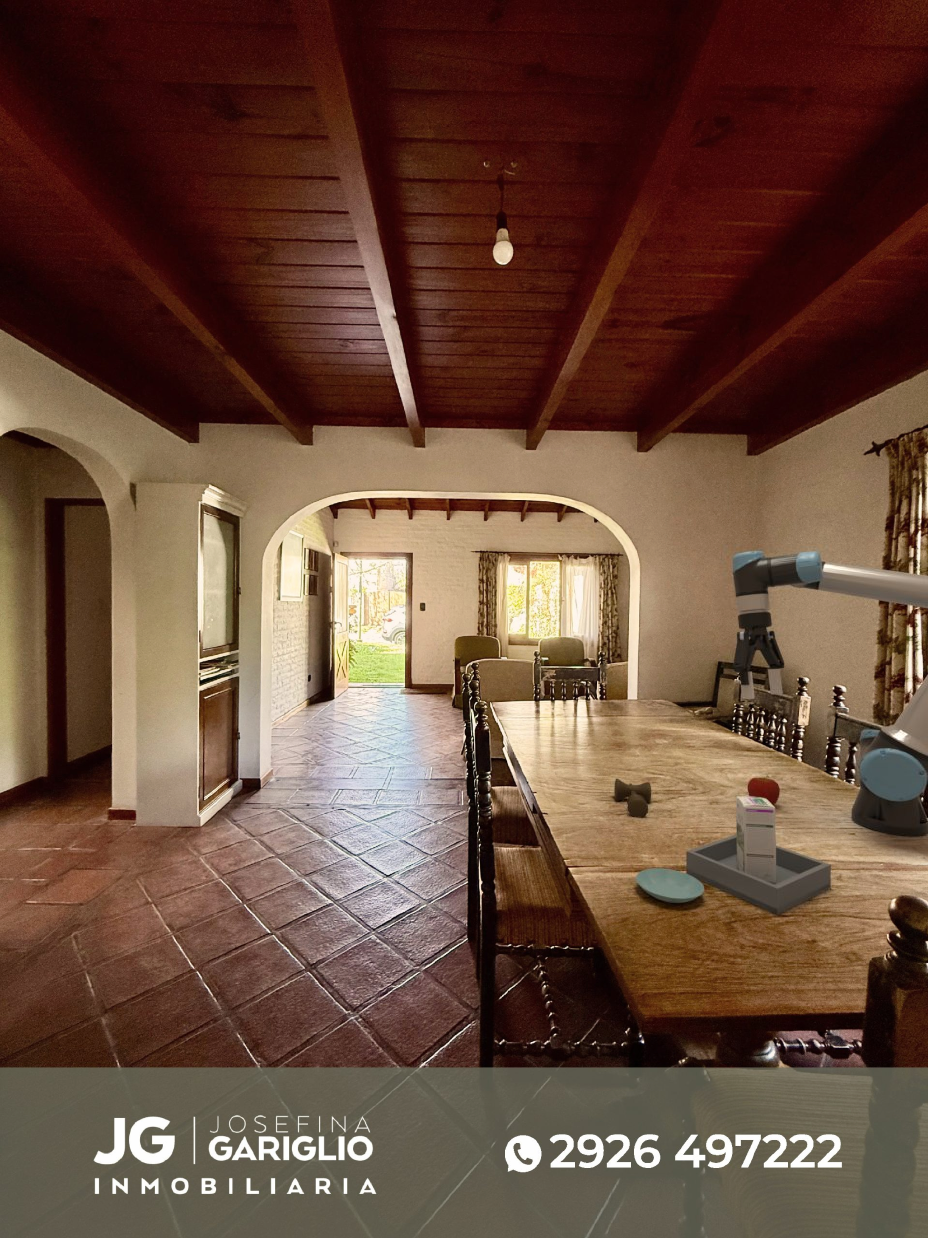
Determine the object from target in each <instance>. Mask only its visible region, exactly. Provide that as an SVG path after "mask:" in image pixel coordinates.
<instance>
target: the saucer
mask: <svg viewBox="0 0 928 1238" xmlns="http://www.w3.org/2000/svg"><path fill="white" fill-rule="evenodd" d="M635 882H636V883H637V884H638V885H639V887H640V888H641V889H643V891H644V892H646V893H647V894H648V895H650V896H651V897H653V898H655V899H657V900H658V901H662V902H665V903H669V904H670V903H671V904H684V903H687V902H692V901H694V900H695V899H697V898H698V897H700V896H702V894H704V892H705V886H704V884H703V883H702V881H701V880H699V879H697V878H694V877H692V876H690V875H688V874H686V873H685V872H681V871H678V870H674V869H669V868H656V867H655V868H647V869H645V870H641V871H639V872H638V873H637V874H636V875H635Z"/></svg>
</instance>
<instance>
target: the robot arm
mask: <svg viewBox="0 0 928 1238" xmlns="http://www.w3.org/2000/svg"><path fill="white" fill-rule="evenodd" d="M732 575H733V576H732V577H733V584H734V585H733V586H734V592H735V600H736V601H735V606H736V612H737V613H738V615H737V620H738V621H737V622H738V628H739V629H740V630H744V631H739V632H736V646H735V653H734V657H733V658H734V659H733V665H732V668H733V670H734V673H739V679H740V680H739V681H740V690H741V691H740V692H741V698H742V700H744V699H745V700H746V699H747V700H749V699H750V700H751V699H752V700H754V699H755V689H754V687H755V686H754V679H753V672H752V671H750V669H751V666H752V663H753V661H754V658H755V655H756V651H759V652H760V654H761V655H762V657H763V659H764V660H765V662H766V664H767V666H768V667H769V668H768V669H767V673H768V681H769V682H768V683H769V692H770V693H769V694H770V695H783V693H784V692H783V685H782V676H781V675H782V674H781V669H784V668H785V661H784V659H783V655H782V652H781V650H780V647H779V645H778V641H777V638H776V633H775V631H774V630H768V629H767V628H769V627H772V625H773V622H772V614H771V613H770V610H771V604H770V595H769V594H770V593H769V588H775V587H782V586H783V587H785V586H791V587H793V588H797V589H809V590H814V591H816V590H817V591H823V592H828V593H832V594H833V593H834V594H841V595H845V596H851V597H857V598H865V599H869V600H876V601H882V602H889V603H895V604H900V605H907V606H913V607H917V608H925V609H928V575H925V574H918V573H910V572H903V571H896V570H887V569H880V568H873V567H866V566H861V565H860V566H859V565H852V564H844V563H836V562H832V561H831V562H829V561H822V557H821V553H820V552H819V551H818V550H817V551H815V550H812V551H802V552H801V551H800V552H797V553H791V554H784V555H778V556H773V557H769V556H768V557H766V555H765V553H764V551H761V550H752V551H751V550H750V551H744V552H741V553H736V554H735V555H734V556H732ZM859 742H860V744H859V745H860V746H859V749H860V752H859V753H860V755H859V765H858V775H859V782H860V783H859V790H858V793H857V796H856V798H855V800H854V803H853V805H852V807H851V820H852V821H853V822H855V823H856V824H858V825H860V826H862V827H865V828H867V829H870V830H874V831H876V832H877V831H878V832H881V833H886V834H892V835H899V836H907V837H911V836H912V837H919V835H921V836H925V835H928V817H927V815H926V812H925V809H924V807H923V804H922V802H921V801H922V800H921V799H920V795H921V794H922V793H923V791H924V790H925V789H926V787H927V784H928V674H927V675H926V677H924V680H923V681H922V683H921V684H920V686H919V687H918V689H917V690H916V691H915V693H914V694H913V696H912V698H911V699H910V700H909V702H908V703H907V705H906V706H905V707H904V709H903V710H902V712H901V714H900V715H899V716H898V718H897V719H896V721H895V723H894V724H892V725H888V726H881V728H880V729H869V728H868V729H866V728H865V729H863V730H861V731H860V738H859Z"/></svg>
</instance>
